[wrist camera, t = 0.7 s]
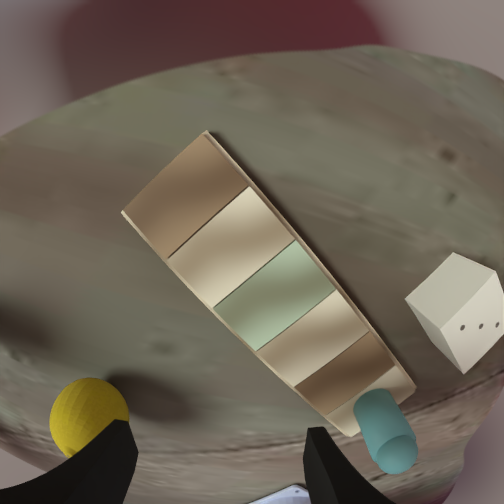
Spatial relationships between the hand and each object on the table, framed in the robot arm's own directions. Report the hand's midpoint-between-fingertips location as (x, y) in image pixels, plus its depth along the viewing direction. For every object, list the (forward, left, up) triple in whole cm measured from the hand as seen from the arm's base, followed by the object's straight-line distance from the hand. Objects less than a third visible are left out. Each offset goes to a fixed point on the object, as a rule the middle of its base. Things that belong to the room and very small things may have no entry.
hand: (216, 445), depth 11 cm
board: (-2, -4, -10) cm, 11 cm away
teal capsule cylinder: (-12, -4, -9) cm, 15 cm away
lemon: (+2, +11, -10) cm, 15 cm away
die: (-9, -13, -10) cm, 19 cm away
